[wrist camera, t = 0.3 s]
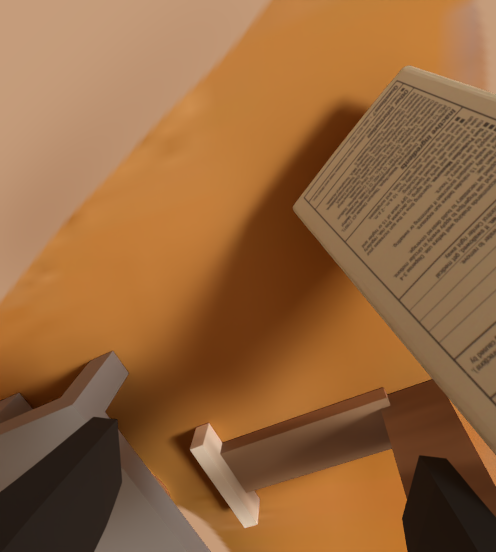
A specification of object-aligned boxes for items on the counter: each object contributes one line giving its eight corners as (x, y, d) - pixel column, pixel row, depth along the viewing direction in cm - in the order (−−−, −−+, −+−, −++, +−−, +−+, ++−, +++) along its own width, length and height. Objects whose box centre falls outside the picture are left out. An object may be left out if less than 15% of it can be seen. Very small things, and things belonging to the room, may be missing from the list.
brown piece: (463, 438, 21) (595, 692, 12) (247, 502, 24) (219, 742, 15) (422, 344, 19) (540, 558, 10) (196, 427, 23) (129, 646, 13)
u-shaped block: (270, 573, 26) (266, 653, 23) (166, 598, 28) (146, 675, 25) (113, 350, 21) (72, 404, 17) (-1, 401, 23) (-60, 459, 19)
